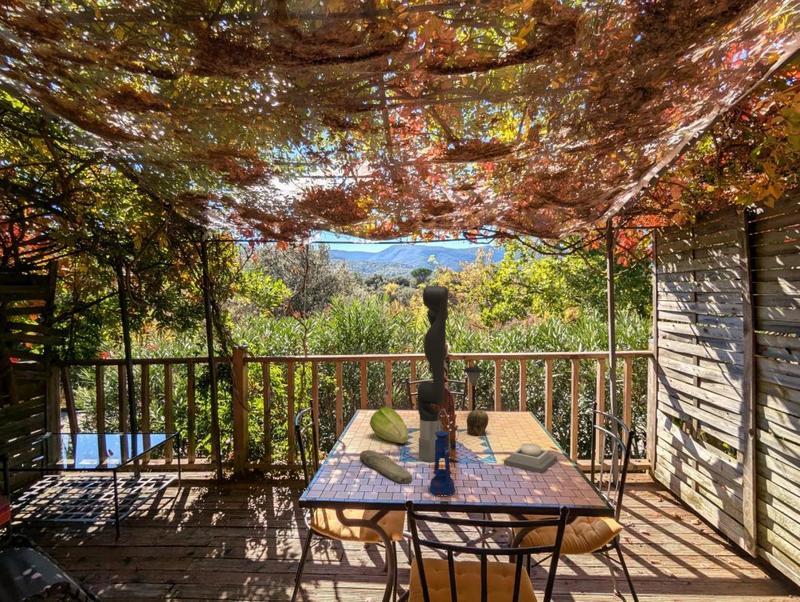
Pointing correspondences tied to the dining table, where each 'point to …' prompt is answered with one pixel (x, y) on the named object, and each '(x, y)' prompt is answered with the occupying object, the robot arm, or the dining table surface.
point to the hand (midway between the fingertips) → (440, 378)
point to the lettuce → (389, 425)
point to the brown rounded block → (477, 422)
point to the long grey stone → (386, 466)
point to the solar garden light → (473, 380)
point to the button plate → (531, 461)
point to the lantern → (442, 480)
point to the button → (531, 450)
